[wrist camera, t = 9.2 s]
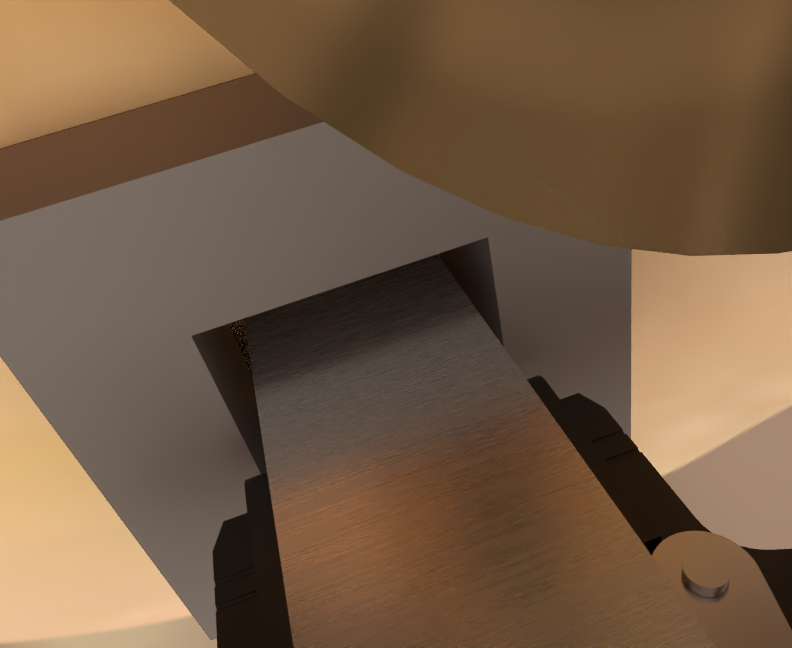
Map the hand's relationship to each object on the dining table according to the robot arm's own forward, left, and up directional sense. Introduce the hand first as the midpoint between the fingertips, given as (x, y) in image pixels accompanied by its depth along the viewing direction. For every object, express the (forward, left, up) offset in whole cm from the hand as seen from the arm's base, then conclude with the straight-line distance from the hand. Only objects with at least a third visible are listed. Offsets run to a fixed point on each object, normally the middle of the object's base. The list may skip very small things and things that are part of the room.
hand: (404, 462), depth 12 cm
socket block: (0, 0, -6) cm, 6 cm away
